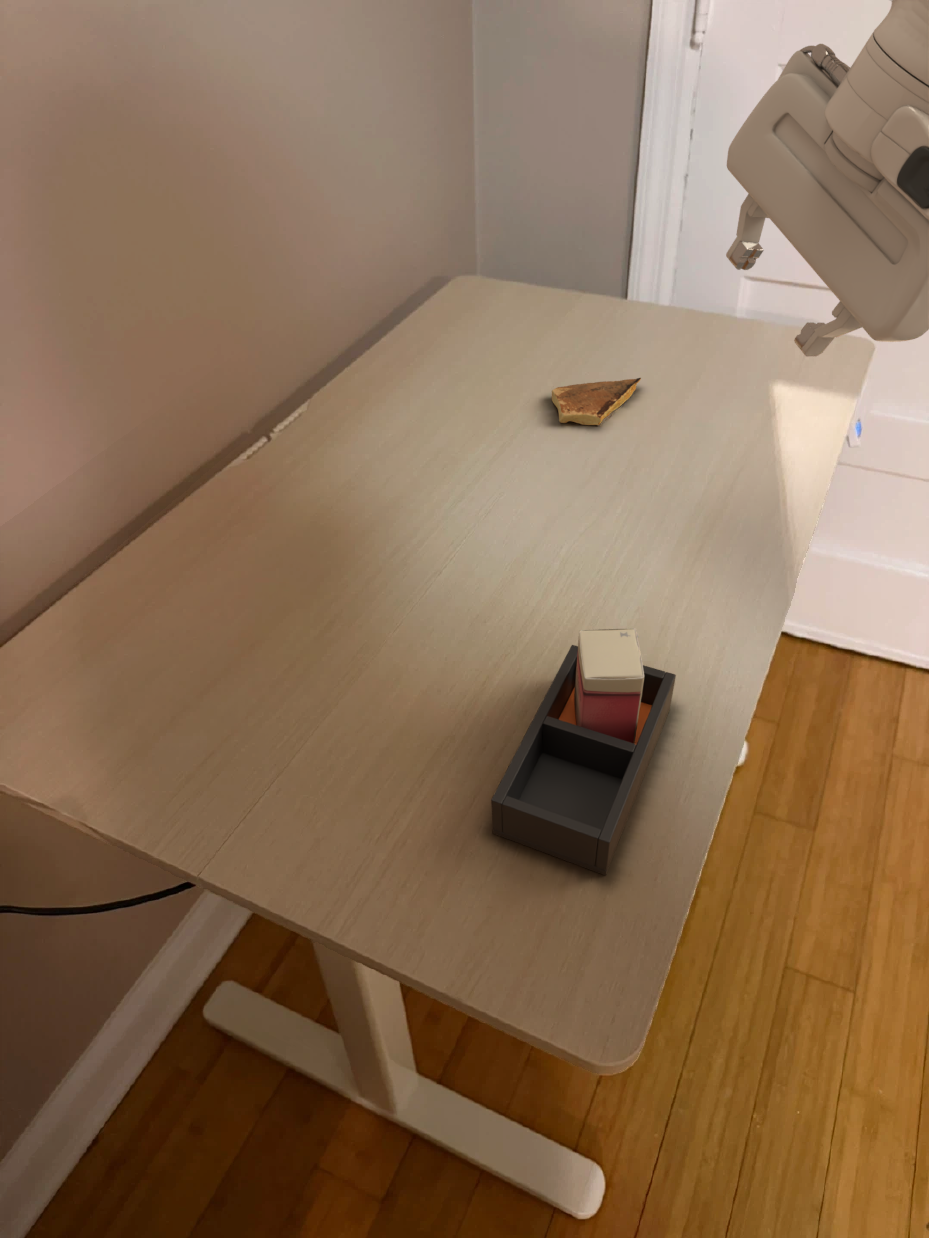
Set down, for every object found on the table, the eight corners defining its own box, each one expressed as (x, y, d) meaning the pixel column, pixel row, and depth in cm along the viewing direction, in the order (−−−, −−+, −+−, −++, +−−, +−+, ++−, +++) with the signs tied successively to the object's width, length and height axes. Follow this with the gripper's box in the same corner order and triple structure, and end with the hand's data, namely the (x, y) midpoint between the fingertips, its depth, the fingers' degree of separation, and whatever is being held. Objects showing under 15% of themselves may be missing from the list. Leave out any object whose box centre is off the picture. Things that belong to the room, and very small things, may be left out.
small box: (573, 698, 71) (577, 627, 65) (627, 697, 71) (636, 625, 65) (578, 749, 67) (583, 678, 62) (635, 747, 67) (645, 676, 61)
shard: (639, 388, 106) (641, 375, 105) (657, 422, 101) (658, 408, 100) (550, 397, 106) (550, 384, 105) (562, 432, 100) (563, 418, 99)
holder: (670, 709, 71) (676, 674, 68) (605, 875, 60) (609, 842, 57) (570, 678, 73) (571, 644, 70) (492, 833, 63) (490, 799, 60)
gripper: (776, 21, 57) (669, 214, 68) (976, 217, 49) (817, 405, 59) (841, 37, 60) (728, 220, 71) (1040, 224, 52) (878, 401, 62)
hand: (770, 305), depth 65 cm, fingers open, 8 cm apart
